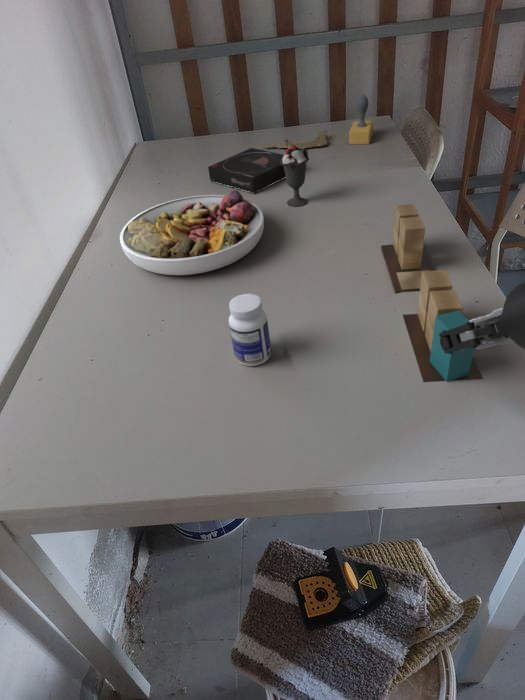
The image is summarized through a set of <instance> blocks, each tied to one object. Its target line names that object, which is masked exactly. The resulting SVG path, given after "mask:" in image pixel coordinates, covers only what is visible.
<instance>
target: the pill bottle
mask: <svg viewBox="0 0 525 700" xmlns="http://www.w3.org/2000/svg"><path fill="white" fill-rule="evenodd" d="M228 307H229V312H230V315H229V317H228V327H229V333H230V339H231V343H232V349H233V354H234V358H235V360H236V361H237V362H238V363H239V364H240V365H242V366H245V367H255V366H256V367H257V366H259V365H262V364H264V363H266V362H268V360H269V359H270V357H271V355H272V344H271V337H270V330H269V329H270V328H269V322H268V317H267V313H266V312H265V310H264V309H263V304H262V298H261V297H260V296H259V295H257V294H254V293H243V294H239V295H236V296H235V297H233V298H232V299H231V300H230V301H229V303H228Z"/></svg>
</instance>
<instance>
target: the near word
mask: <svg viewBox="0 0 525 700" xmlns="http://www.w3.org/2000/svg"><path fill="white" fill-rule="evenodd" d="M434 270H435V269H434ZM453 287H454V286H453V283H452V281H451V280H450V278H449V275H448V273H447V271H446V269H439V270H438V269H436V270H435V271H422V277H421V286H420V291H419V294H418V304H417V313H410V314H409V313H408V314H402V318H403V321H404V324H405V328H406V330H407V334H408V337H409V340H410V345H411V347H412V350H413V353H414V356H415V357H414V358H415V360H416V363H417V366H418V369H419V372H420V375H421V379H422V382H423V383H434V382H437V383H438V382H446V380H445V379H444V378H443V377H442V376H441V374H440V373H439V372H438V371H437V370H436V369H435V367H434V366H433V365H432V364H431V363H430V354H431V347H432V339H433V332H434V325H435V317H436V316H439V315H442V314H446V313H450V312H454V311H460V312H461V313H462V314H463V310H464V307H463V305H462V303H461V300H460V299H459V297H458V295H457V292H456V290H455V289H453ZM481 373H482V372H481V371H480V369H479V366H478V364H477V362H476V359H475V357H474V356H473V357H472V362H471V367H470V372H469V376H465V377H462V378H458V379H454V380H451V381H450V382H453V381H455V382H456V381H472V380H473V381H474V380H475V381H476V380H484V377H483V375H482V374H481Z"/></svg>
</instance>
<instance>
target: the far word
mask: <svg viewBox="0 0 525 700" xmlns="http://www.w3.org/2000/svg"><path fill="white" fill-rule="evenodd" d="M393 217H394V219H393V233H392V244H382V245H380V250H381V252H382V256H383V259H384V263H385V265H386V269H387V272H388V275H389V280H390V282H391V285H392V289H393V292H394V294H395V295H397V294H401V293H415V292H420V286H421V277H422V271H435V267H434V265H433V263H432V261H431V258H430V257H429V254H428V251H427V249H426V247H425V245H424V242H425V235H426V234H425V233H426V227H425V225H424V222H423V220H422V219H421V216H419V212H418V210H417V208H416V207H415V204H414V203H407V204H396V205H394V216H393Z"/></svg>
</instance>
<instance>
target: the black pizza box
mask: <svg viewBox="0 0 525 700" xmlns="http://www.w3.org/2000/svg"><path fill="white" fill-rule="evenodd" d="M284 155H285V154H282V153H277V152H274V151H269V150H264V149H258V148H254V147H250V148H248V149H246V150H243V151H240V152H239V153H236V154H234V155H232V156H230V157H227V158H225V159H223V160H221V161H218V162H216V163H213V164H211V165H209V166H207V168H208V175H209V181H210V180H211V181H214V182H218V183H222V184H225V185H229V186H233V187H236V188H240V189H243V190H246V191H250V192H253V193H255V192H257V191H258V190H261V189H263V188H265V187H267V186H268V185H270V184H272V183H274V182H276V181H278V180H281V179H282V178H284V177H286V175H285V170H284V166H283V165H281V164H280V159H282V158H283V156H284ZM281 181H282V180H281ZM267 188H268V187H267ZM265 189H266V188H265ZM263 190H264V189H263ZM261 191H262V190H261ZM257 193H258V192H257Z"/></svg>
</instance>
